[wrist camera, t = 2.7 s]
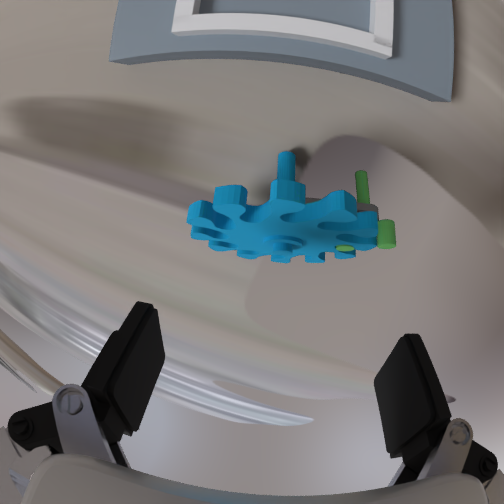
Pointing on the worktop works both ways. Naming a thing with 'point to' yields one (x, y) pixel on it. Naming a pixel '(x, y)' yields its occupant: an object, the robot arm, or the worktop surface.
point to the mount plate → (299, 36)
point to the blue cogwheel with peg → (291, 220)
